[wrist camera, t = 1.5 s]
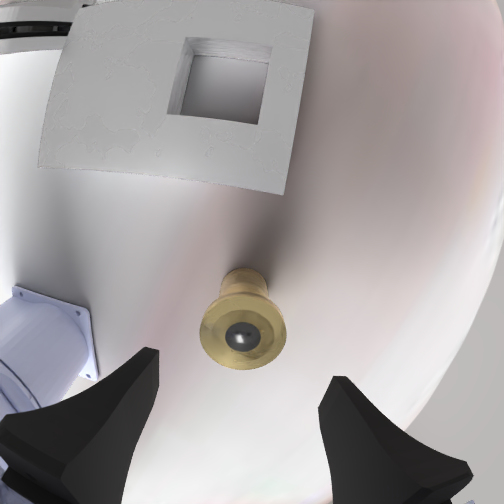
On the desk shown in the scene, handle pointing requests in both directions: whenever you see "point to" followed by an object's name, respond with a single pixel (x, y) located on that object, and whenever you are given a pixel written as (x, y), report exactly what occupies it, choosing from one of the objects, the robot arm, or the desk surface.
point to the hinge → (36, 24)
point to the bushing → (243, 323)
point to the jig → (175, 91)
